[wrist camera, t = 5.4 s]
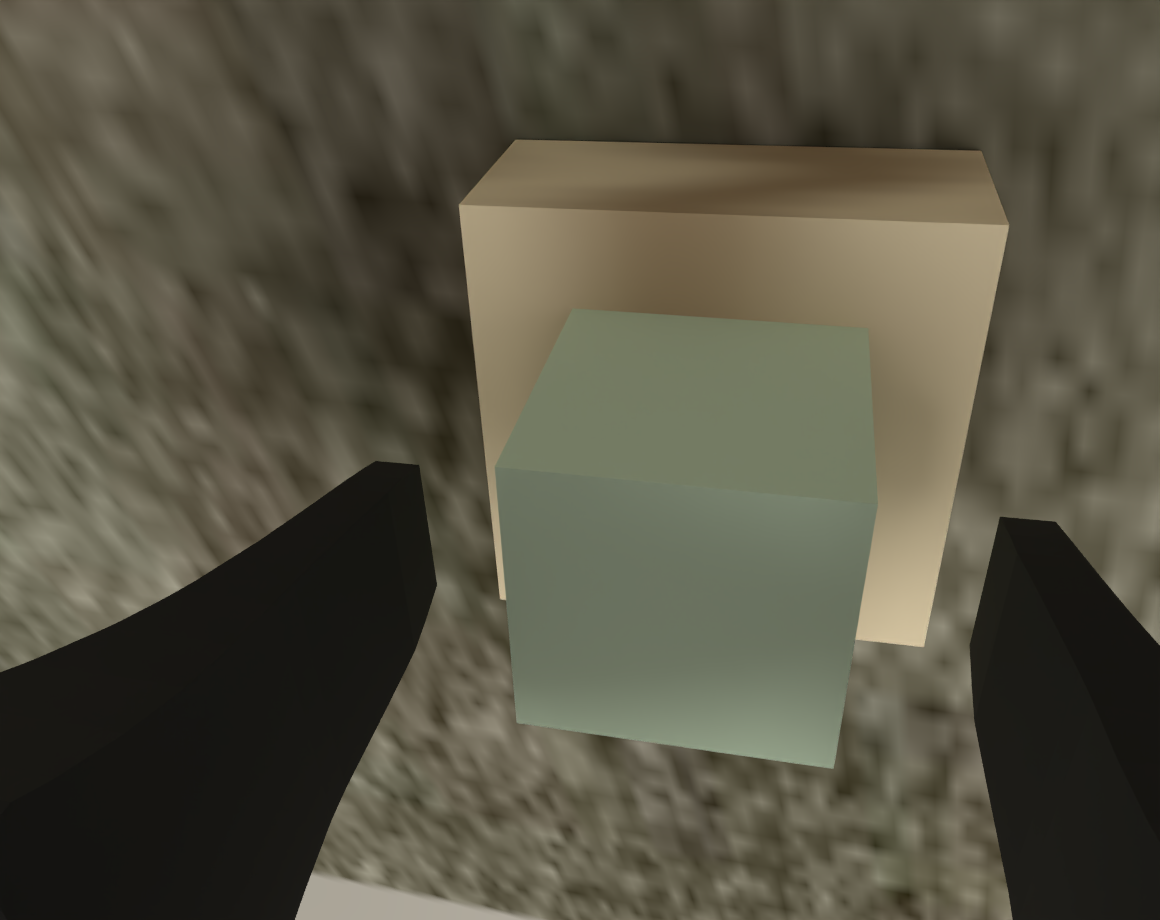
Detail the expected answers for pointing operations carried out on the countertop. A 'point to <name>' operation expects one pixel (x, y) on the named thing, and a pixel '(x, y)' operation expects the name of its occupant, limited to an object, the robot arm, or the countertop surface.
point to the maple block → (758, 294)
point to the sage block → (691, 532)
